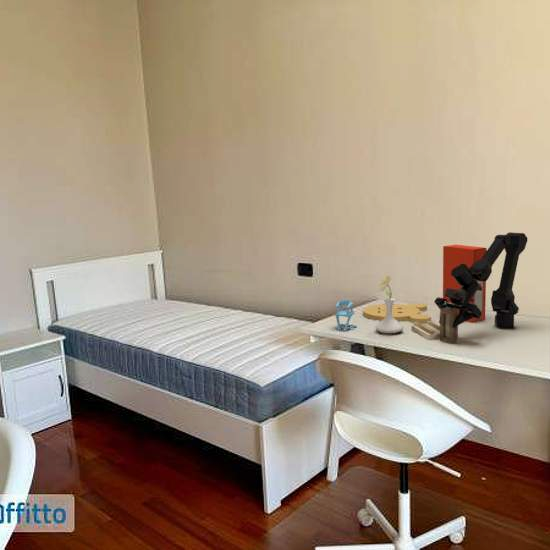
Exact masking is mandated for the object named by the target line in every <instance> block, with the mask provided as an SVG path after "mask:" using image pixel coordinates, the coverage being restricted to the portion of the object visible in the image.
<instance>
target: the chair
mask: <svg viewBox="0 0 550 550" xmlns="http://www.w3.org/2000/svg"><path fill="white" fill-rule="evenodd" d="M354 305H355V303H353V302H352V301H349V300H348V299H347V300H344V299H343V300H342V301H338V302H337V303H336V304H335V309H336V312H335V313H334V316H335V319H336V325H337V331H338V330H340V331H341V330H342V327H344V328H343V332H347V331H346V330H348V329H350V330H352V329H351V328H353V329H356V328H357V324H349V322H350V321H351V318H352V316H353V315H354V314H355V311H354V310H353V308H354ZM339 306H340V310H339V309H338V307H339ZM343 306H347V308H346V309H347V310H343ZM340 317H346V318H347V321H346V323H341V322H340ZM341 325H343V326H341ZM348 326H351V327H348ZM355 327H356V328H355ZM348 331H349V330H348Z"/></svg>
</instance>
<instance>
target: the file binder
mask: <svg viewBox="0 0 550 550" xmlns="http://www.w3.org/2000/svg"><path fill="white" fill-rule="evenodd" d="M487 250H488V249H487V247H483V246H481V247H480V246H473V245H463V244H450V245H449V244H448V245H443V247H442V251H443V252H442V254H443V255H442V298H445V299H446V300H447V301H448V302H449V303H452V302H451V301H450V300H449V297H445V296H444V294H445V291H446V288H449V289H454V290H459V289H460V288H461V285H459V284H458V283H457V282H456V280H455V279H454V278H453V277H452V275H451V271H452V269H454V268H455V267H457V266H460V264H461V263H462V264H466V265H467V267H468V269H469V268H470V267H471V266H472V265H473V263H475V262H477V261H478V260H480V259H481V258H482V257H483V255H484V254H485V253H486V251H487ZM476 281H477V280H476ZM477 282H478V283H479V284H481V287H482V291H479V290H477V292H476V293H475V295H474V296H473V298H472V299H473V300H474V301H473V302H470V304H475V305H477V307H478V308H479V309H480V311H481V312H482V315H481V317H480V318H479V319H477V318H473V319H469V320H467V321H468V323H471V322H472V323H471V324H474V323H478V321H479V322H483V321H485V320H486V300H487V299H486V294H487V293H486V290H487V289H486V288H487V281H477ZM451 309H452V308H451ZM454 310H457V309H454ZM458 314H459V310H458ZM467 321H466V322H467ZM473 322H474V323H473Z"/></svg>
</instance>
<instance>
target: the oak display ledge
mask: <svg viewBox="0 0 550 550" xmlns="http://www.w3.org/2000/svg"><path fill="white" fill-rule="evenodd" d="M411 331H412V332H413V333H416V334H417V333H418V334H417V335H419V336H421V337H423V338H424V339H426V340H427V341H432V340H433V341H434V340H440V324H437V323H435V322H433V321H432V320H431V321H427V324H420V323H418V322H414V323H413V325H411Z"/></svg>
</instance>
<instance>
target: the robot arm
mask: <svg viewBox="0 0 550 550" xmlns="http://www.w3.org/2000/svg"><path fill="white" fill-rule="evenodd" d="M527 243H528V237H527V236H526V233H524V232H510V231H509V232H507V233H506V234H497V235H495V237H494V240H493V242H492V243H491V244H490V245H489V247H488V249H487V251H486V253H485V254H484V255H483V257H482V258H481V259H480V260H478V261H477V262H475V263H473V265H472V266H471V267H470V268H469V269H468V267H467V265H466V264H462V263H461V264H460V266H457V267H455V268H454V269H452V271H451V275H452V277H453V278H454V279H455V280H456V282H457V283H458V284H459V285H461V288H460V289H459V290H454V289H449V288H446V291H445V294H444V296H445V297H449V300H450V301H451V302H452V303H449V302H448V301H447V300H446V299H445V298H443V297H440V296H439V297H436V298H435V300H434V301H433V303H434V304H435V305H436V306H437V307H438V309H439V310H440V309H442V308H450V309H451V308H452V309H457V310H459V314H458V316H457V318H456V320H455V321H454V323H453V325H452V327H453V328H455V327H456V326H458V327H459V325H461V324H462V323H463V324H464V322H467V320H469V319H473V318H477V319H479V318H480V317H481V315H482V312H481V311H480V309H479V308H478V307H477V305H475V304H470V302H473V301H474V300H473V299H472V298H473V296H474V295H475V293H476V292H477V290H479V291H482V287H481V284H479V283H478V282H477V281H486V282H487V281H488V279H489V278H490V277H491V274H492V272H493V271H492V267H493V265H494V264H495V262H496V261H497V260H498V258H499V257H500V255H501V254H502V253H503V251H505V258H504V261H503V262H504V263H503V267H502V270H501V271H502V272H501V276H500V282H499V286H498V288H496V290H492V294H491V298H490V302H491V309H492V312H495V313H496V314H494V326H496V327H497V329H516V326H515V316H516V315H517V314H518V313H519V310H520V308H519V306H518V305H517V304H516V302H515V294H514V292H513V287H514V281H515V277H516V272H517V266H518V262H519V257H520V255H522V253H523V252H524V250H525V249H526V246H527ZM476 280H477V281H476ZM438 323H439V324H440V319H439V321H438Z"/></svg>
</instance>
